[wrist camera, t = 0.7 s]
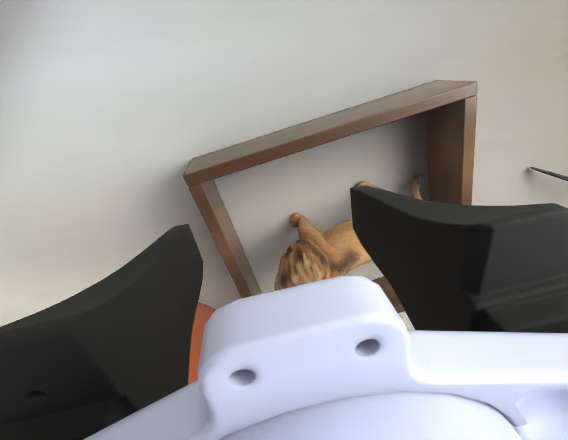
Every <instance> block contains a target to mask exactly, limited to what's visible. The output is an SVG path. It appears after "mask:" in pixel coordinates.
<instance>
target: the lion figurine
mask: <svg viewBox="0 0 568 440" xmlns="http://www.w3.org/2000/svg"><path fill="white" fill-rule="evenodd" d="M422 175H423V174H422V172H420V173H419V174H417V175H415V176H414V177H413V180H412V185H411V189H412V193H413V197H414V198H417V199H422V198H421V196H420V193H419V185H420V183H421V178H422ZM363 185H364V186H371V187H375V188H378V187H376V186H374V185H373V184H371V183H369V182H364V181H363V182H359V183H358V184H357V186H356V187H359V186H363ZM379 189H381V188H379ZM382 190H383V189H382ZM290 223H291V224H292V226H293V227H298V233H299V237H300V240H297V241H296V242H295V243H292V244H290V245H289V247H288V249H287V253H285V254H283V255H282V257H281V261H280V266H279V269H278V274H277V276H276V282H275V291H277V290H281V289H286V288H290V287H294V286H299V285H303V284H307V283H312V282H316V281H320V280H325V279H329V278H334V277H338V276H345V275H346V274H347V273H348V271H350V270H352V269H353V268H355V267H357V266H359V265H362V264H365V263H368V262H370V261H372V259H371V257H370V256H369V255H368V253H367V252H366V251H365V249H364V248H363V246H362V245H361V243H360V241H359V239H358V238H357V236H356V234H355V232H354V230H353V224H352V220H349V221H345V222H342V223H340V224H337V225H336V226H334V227H332V228H330V229H329V230H327V231H325V232H324V233H322V232H321V231H319V230H317V229H315V228H314V227H313V226H312V225H311V223H310V222H309V220H308V219H307V218H306V217H305V216H303V215H302V214H299V213H295V214H293V215H292V216H291V218H290Z"/></svg>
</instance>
